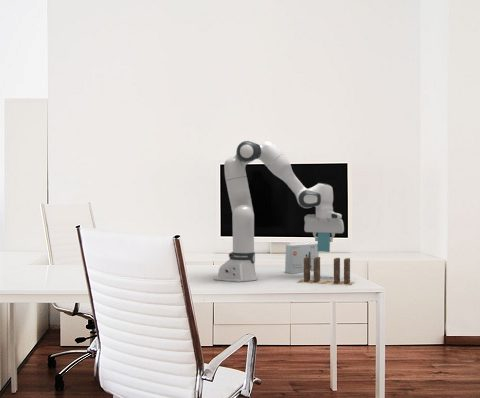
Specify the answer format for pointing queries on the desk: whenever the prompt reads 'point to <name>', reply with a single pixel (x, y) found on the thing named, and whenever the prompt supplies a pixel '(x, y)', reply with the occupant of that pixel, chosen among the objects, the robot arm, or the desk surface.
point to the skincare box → (300, 256)
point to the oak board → (325, 282)
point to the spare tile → (323, 242)
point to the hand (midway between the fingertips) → (323, 241)
